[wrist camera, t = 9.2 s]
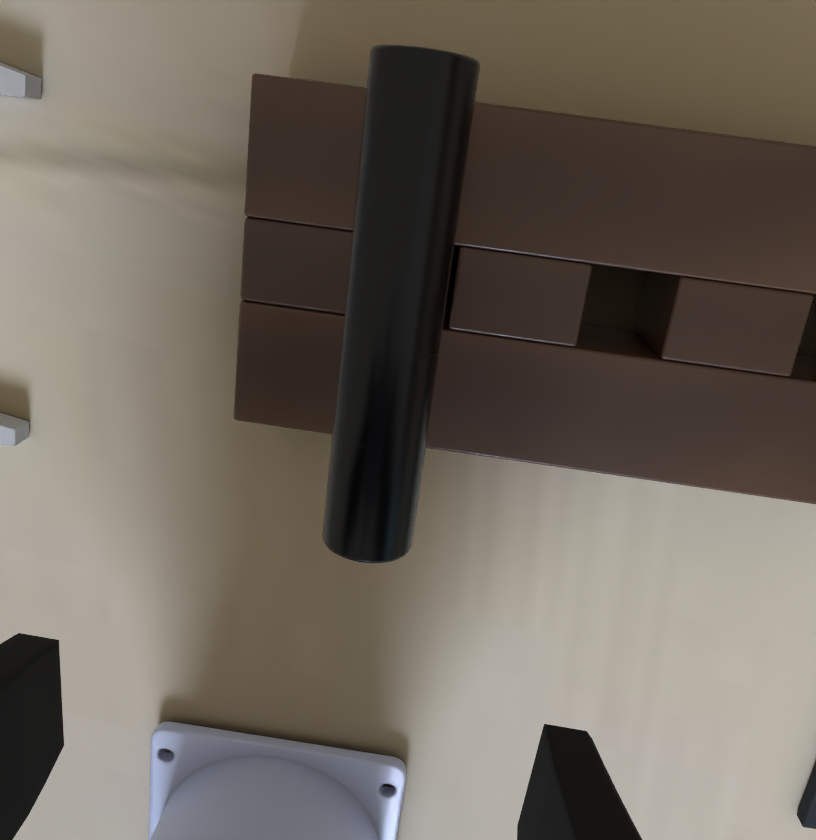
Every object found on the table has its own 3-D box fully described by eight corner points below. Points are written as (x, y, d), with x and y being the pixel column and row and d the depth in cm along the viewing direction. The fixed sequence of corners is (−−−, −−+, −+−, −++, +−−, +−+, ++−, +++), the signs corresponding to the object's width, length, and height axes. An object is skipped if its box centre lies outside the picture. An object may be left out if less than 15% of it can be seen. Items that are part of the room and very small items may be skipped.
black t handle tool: (430, 419, 21) (407, 570, 13) (371, 410, 21) (314, 556, 13) (477, 96, 18) (481, 53, 11) (408, 87, 18) (363, 39, 11)
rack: (894, 474, 20) (963, 527, 17) (265, 384, 21) (232, 421, 18) (1000, 178, 18) (1101, 183, 15) (285, 85, 18) (251, 72, 16)
